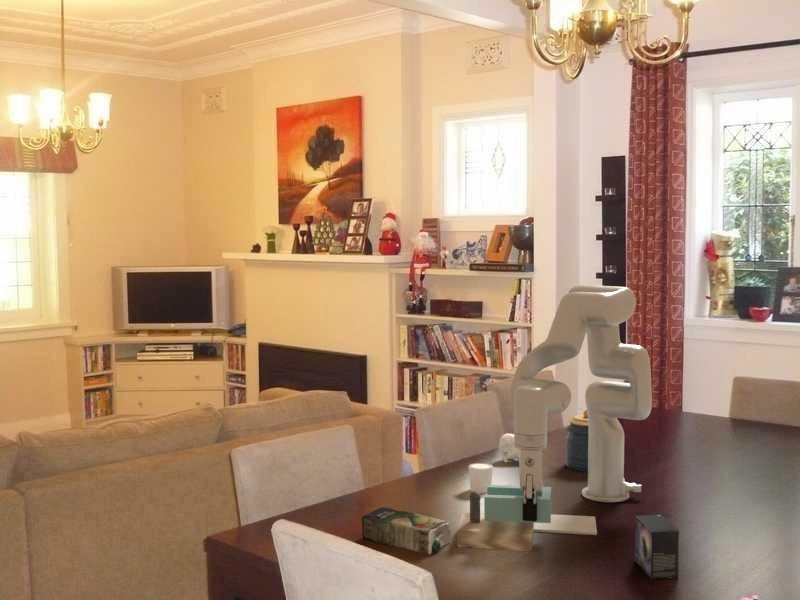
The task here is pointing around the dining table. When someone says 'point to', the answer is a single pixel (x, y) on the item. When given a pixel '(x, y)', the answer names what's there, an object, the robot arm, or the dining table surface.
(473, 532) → the stand
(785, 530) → the dining table surface
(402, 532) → the juice carton
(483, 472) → the shot glass
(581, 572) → the dining table surface
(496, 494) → the c link
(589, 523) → the mat
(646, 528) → the small box
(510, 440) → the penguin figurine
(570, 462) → the canister
